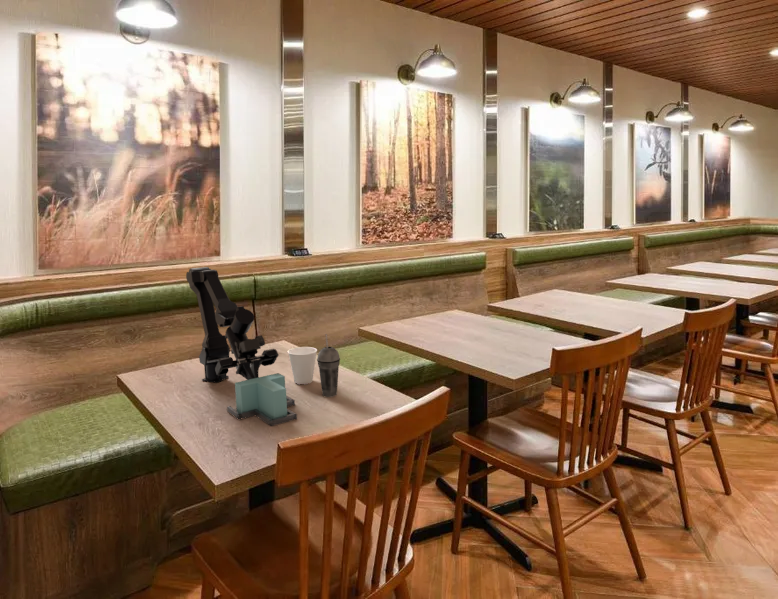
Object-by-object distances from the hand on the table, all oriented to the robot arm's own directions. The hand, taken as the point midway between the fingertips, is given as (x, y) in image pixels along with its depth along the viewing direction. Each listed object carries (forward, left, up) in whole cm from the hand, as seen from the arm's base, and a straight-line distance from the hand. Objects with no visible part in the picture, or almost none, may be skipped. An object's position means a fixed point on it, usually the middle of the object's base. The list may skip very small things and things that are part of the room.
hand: (257, 385), depth 173 cm
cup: (+2, +24, -7) cm, 25 cm away
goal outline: (+6, -4, -6) cm, 10 cm away
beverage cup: (+16, +16, -7) cm, 24 cm away
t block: (+6, -4, -6) cm, 10 cm away
